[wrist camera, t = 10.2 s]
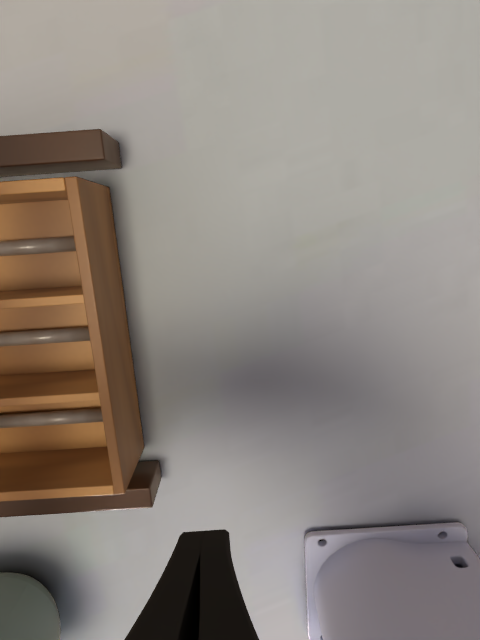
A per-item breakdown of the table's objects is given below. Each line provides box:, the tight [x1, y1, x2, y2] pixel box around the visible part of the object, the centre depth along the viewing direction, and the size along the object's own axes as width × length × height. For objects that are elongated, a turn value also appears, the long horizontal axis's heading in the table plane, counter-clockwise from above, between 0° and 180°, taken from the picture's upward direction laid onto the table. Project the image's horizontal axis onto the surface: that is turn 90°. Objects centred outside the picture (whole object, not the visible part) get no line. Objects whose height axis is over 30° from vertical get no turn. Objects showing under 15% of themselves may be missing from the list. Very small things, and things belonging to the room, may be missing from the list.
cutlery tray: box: [0, 176, 144, 501], centre depth 19 cm, size 9×14×4 cm, turn 4°
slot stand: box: [0, 129, 161, 517], centre depth 19 cm, size 11×18×2 cm, turn 4°
